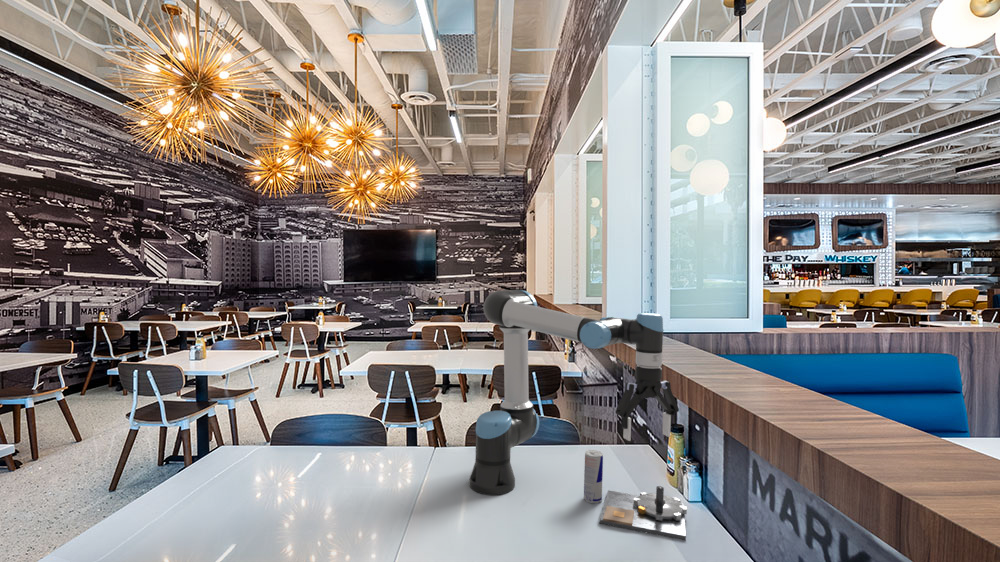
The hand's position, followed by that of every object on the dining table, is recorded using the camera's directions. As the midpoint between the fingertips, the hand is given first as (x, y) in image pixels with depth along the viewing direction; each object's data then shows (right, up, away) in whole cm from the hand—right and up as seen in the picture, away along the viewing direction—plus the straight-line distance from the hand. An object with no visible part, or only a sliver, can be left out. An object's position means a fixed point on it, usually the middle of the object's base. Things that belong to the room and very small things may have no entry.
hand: (646, 437), depth 144 cm
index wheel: (+4, -22, +1) cm, 22 cm away
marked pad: (-9, -22, -3) cm, 24 cm away
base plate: (-1, -23, 0) cm, 23 cm away
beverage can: (-14, -23, +9) cm, 28 cm away
